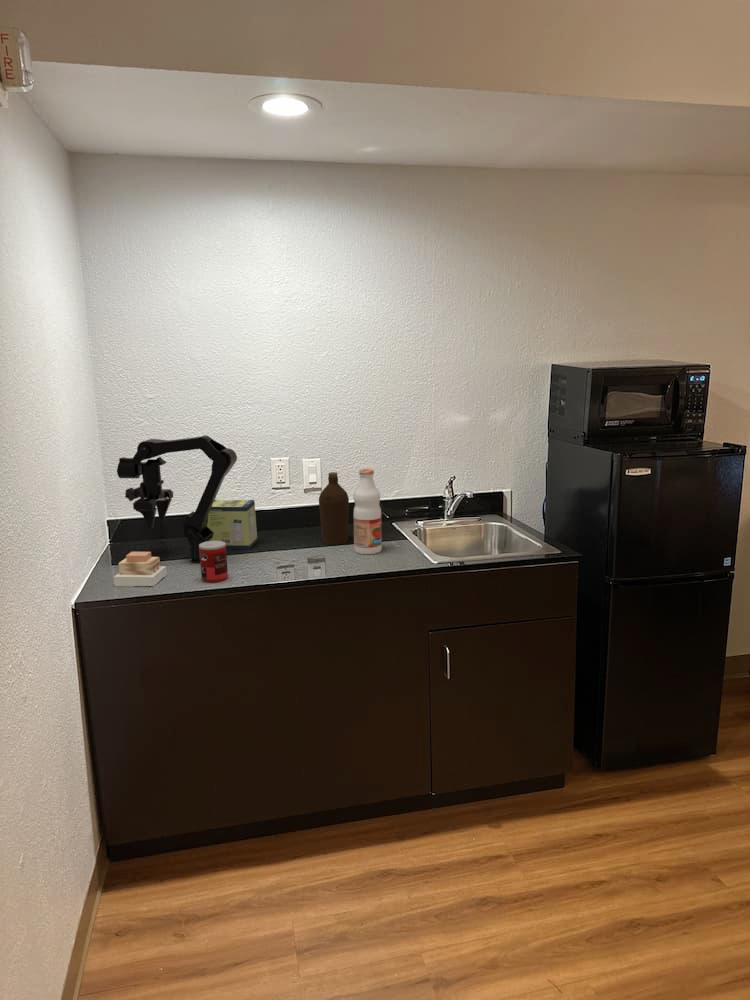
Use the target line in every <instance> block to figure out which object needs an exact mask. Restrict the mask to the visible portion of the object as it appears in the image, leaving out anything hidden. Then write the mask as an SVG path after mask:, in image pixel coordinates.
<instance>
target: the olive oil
mask: <svg viewBox="0 0 750 1000" xmlns="http://www.w3.org/2000/svg"><path fill="white" fill-rule="evenodd" d="M338 477H339V476H338V472H334V471H333V472H332V471H331V472H328V479H327V480H328V484H327V485H326V486H325V487H324V488H323V490H321V492H320V493H319V497H318V508H319V517H320V529H321V531H320V532H321V541H322V543H323V544H324V545H329V546H335V545H337V546H338V545H344V544H346V543H348V542H349V506H350V505H349V504H350V502H349V495H348V493H347V491H346V490H345V489H344V488H343V486H341V485H340V483H339V478H338Z"/></svg>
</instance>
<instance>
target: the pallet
mask: <svg viewBox="0 0 750 1000" xmlns="http://www.w3.org/2000/svg"><path fill="white" fill-rule="evenodd" d="M160 560H161V559H160V556H151V559H150V560H148V561H147V562H127V560H126V557H125V558H123V560H121V561H119V562H118V573H120V575H153V574H154V572H156V571H157V570H159V569H160V566H161V562H160Z"/></svg>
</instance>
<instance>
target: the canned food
mask: <svg viewBox="0 0 750 1000" xmlns="http://www.w3.org/2000/svg"><path fill="white" fill-rule="evenodd" d="M199 555H200V562H199V565H200V575H201V576H200V577H201V579H202V581H203V582H205V583H220V582H223V580H224V581H226V580H227V579H228V576H229V573H228V572H229V570H228V557H227V549H226V543H225V542H223V541H207V542H203V543H201V544H199Z"/></svg>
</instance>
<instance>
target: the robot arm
mask: <svg viewBox="0 0 750 1000" xmlns="http://www.w3.org/2000/svg"><path fill="white" fill-rule="evenodd" d="M136 450H137V451H136V452H135V454H134V456H133V457H125V456H124V457H120V458H119V459H118V460H119V462H118V465H117V469H116V474H117V476H118V478H119V479H139V478H140V477H141V476H142V482H140V483H139V487H136V488H133V487H129V488H127V489H125V493H124V495H125V496H124V497H125V499H127V500H129V502H132V501H133V500H134V502H133V503H132V507H133V510H134V511H136V512H139V513H140V514H141V515H142V516H143V518H144V521H145V523H146V525H147V527H148V529H153V528H154V524H155V519H156V514H158V519H159V521H160V522H164V521H165V517H166V515H167V512H168V509H169V507H170V505H171V503H172V501H173V499H172V498H174V491H173V490H171V489H169V488H167V489H164V488H163V485H162V484H164V483H165V481H164V479H162V475H161V466H163V465H166V464H167V461H166V460H164V459H163V458H162V457H161V455H165V454H168V453H169V454H170V453H177V452H185V451H193V450H200V451H202V452H203V453H204V454H205V456H207V458H208V459H210V460H211V461H212V463H211V472H210V473H211V474H210V477H209V479H208V481H207V483H206V486H205V489H204V490H203V493H202V494H201V497H200V499H199V502H198V504H197V507H196V509H195V511H194V510H193V511H191V512H190V513H188V514H187V515H186V517H185V520H184V522H183V524H182V525H181V528H182V527H183V528H182V533H183V536H184V537H185V538H186V539H187V541H188V544H189V545H190V546H189V555H190V560H189V561H190V563H200V555H199V544H201V543H203V542H207V541H212V540H210V539H212V538H213V534H214V533H213V532H212V531H211V530H210V529H209V528H208V527H207V523H208V514H209V511H210V509H211V507H212V504H213V502H214V500H216V498H217V495H218V492H219V490H220V489H221V486H222V483H223V482H224V479H225V477H226V476H227V475H228V474H229V472H230V471H231V470H232V468H233V467H234V466H235V463H236V462H237V460H238V456H237V453H236V452H235V451H234V450H233V449H231V448H227V447H226V446H225V445H223V444H222V443H220V442H218V441H216V440H214V439H213V438H211V437H210V436H209V435H206V434H205V435H201V436H195V437H186V438H179V439H170V440H166V439H161V438H149V439H147V440H144V441H140V442H139V444H138V445H137V448H136ZM156 457H157V458H156ZM152 458H153V459H152ZM154 458H156V459H154ZM145 460H146V461H145ZM135 499H136V500H135Z"/></svg>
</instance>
